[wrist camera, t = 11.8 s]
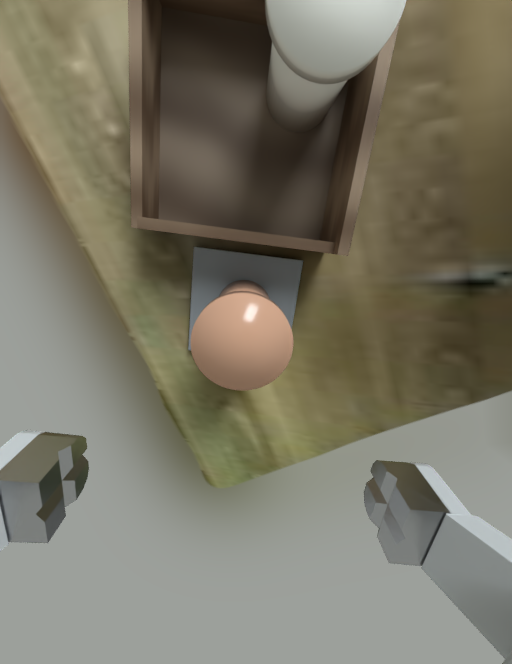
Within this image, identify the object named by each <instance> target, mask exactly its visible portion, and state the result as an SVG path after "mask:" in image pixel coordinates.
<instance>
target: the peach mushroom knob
mask: <svg viewBox="0 0 512 664" xmlns="http://www.w3.org/2000/svg"><path fill="white" fill-rule="evenodd" d="M292 351H293V334H292V330H291V327H290V325H289V323H288V320H287V318H286V316H285V314H284V313H283V311H282V310H281V309H280V308H279V306H278V305H277V304H275V303H274V302H273V301H272V300H270V298H269V296H268V293H267V292H266V290H265V289H264V288H263V287H262V286H260V285H259V284H257V283H255V282H253V281H249V280H238V281H235V282H232V283H230V284H229V285H227V286H226V287H225V288H224V289H223V290H222V291H221V293H220V295H219V297H217V298H215V299H214V300H212V301H211V302H210V303H209V304H208V305H207V306H206V307H205V308H204V309H203V310H202V312H201V313H200V315H199V317H198V318H197V320H196V322H195V324H194V326H193V329H192V333H191V352H192V355H193V358H194V361H195V363H196V365H197V366H198V368H199V369H200V371H201V372H202V373H203V374H204V375H205V376H206V377H207V378H208V379H210V380H211V381H212V382H214V383H216V384H217V385H219V386H222V387H224V388H228V389H232V390H252V389H257V388H260V387H262V386H265V385H267V384H269V383H270V382H272V381H273V380H275V379H276V378H277V377H278V376H279V375H280V374H281V373H282V372H283V371H284V369H285V368H286V367H287V365H288V363H289V361H290V358H291V355H292Z"/></svg>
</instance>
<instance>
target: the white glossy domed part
mask: <svg viewBox="0 0 512 664" xmlns="http://www.w3.org/2000/svg"><path fill="white" fill-rule="evenodd" d="M405 3H406V0H265V13H266V20H267V26H268V30H269V34H270V37H271V39H272V47H271V55H270V64H269V72H268V80H267V89H266V99H267V104H268V108H269V111H270V113H271V115H272V117H273V118H274V120H275V121H276V122H277V123H278V124H279V125H280V126H281V127H282V128H284V129H286V130H288V131H291V132H305V131H308V130H311V129H312V128H314V127H315V126H317V125H318V124H319V123H320V122H321V121H322V120H323V118H324V117H325V116H326V114H327V112H328V111H329V109H330V107H331V106H332V104H333V103H334V101H335V99H336V98H337V96H338V95H339V93H340V91H341V90H342V88H343V87H344V85H345V83H346V82H347V80H348V79H350V78H352V77H354V76H356V75H357V74H359V73H360V72H361V71H363V70H364V69H365V68H366V67H367V66H368V65H369V64H370V63H371V62H372V61H373V60H374V58H375V57H376V56H377V55H378V53H379V52H380V50H381V49H382V48H383V46H384V45H385V43H386V42H387V40H388V39H389V37H390V36H391V34H392V33H393V31H394V30H395V28H396V26H397V24H398V22H399V20H400V18H401V15H402V12H403V10H404V7H405Z"/></svg>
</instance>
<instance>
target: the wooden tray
mask: <svg viewBox="0 0 512 664" xmlns="http://www.w3.org/2000/svg"><path fill="white" fill-rule="evenodd" d="M128 21H129V95H130V168H131V227H132V228H139V229H147V230H154V231H162V232H170V233H177V234H185V235H193V236H200V237H208V238H216V239H224V240H231V241H239V242H247V243H254V244H262V245H270V246H277V247H285V248H293V249H301V250H308V251H316V252H324V253H331V254H338V255H346V256H348V255H349V250H350V246H351V241H352V236H353V232H354V227H355V223H356V218H357V214H358V209H359V205H360V200H361V195H362V191H363V186H364V182H365V177H366V173H367V168H368V163H369V159H370V154H371V150H372V145H373V141H374V136H375V131H376V127H377V122H378V118H379V113H380V109H381V104H382V99H383V95H384V90H385V86H386V81H387V77H388V72H389V68H390V63H391V58H392V54H393V49H394V45H395V40H396V36H397V31H398V26H399V22H400V20H399V22H398V24H397V26H396V28H395V30H394V31H393V33H392V34H391V36H390V37H389V39H388V40H387V42H386V43H385V45H384V46H383V48H382V49H381V50H380V52H379V53H378V55H377V56H376V57H375V58H374V60H373V61H372V62H371V63H370V64H369V65H368V66H367V67H366V68H365V69H364V70H363V71H361V72H360V73H359V74H357V75H356V76H354V77H352V78H350V79H348V80H347V82H346V83H345V85H344V87H343V88H342V90H341V91H340V93H339V95H338V96H337V98H336V99H335V101H334V103H333V104H332V106H331V107H330V109H329V111H328V112H327V114H326V116H325V117H324V118H323V120H322V121H321V122H320V123H319V124H318V125H317V126H315V127H314V128H312V129H311V130H308V131H305V132H291V131H288V130H286V129H284V128H282V127H281V126H280V125H279V124H278V123H277V122H276V121H275V120H274V118H273V117H272V115H271V113H270V111H269V108H268V104H267V99H266V89H267V80H268V72H269V64H270V55H271V47H272V39H271V37H270V34H269V30H268V26H267V20H266V13H265V0H128Z"/></svg>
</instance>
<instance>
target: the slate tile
mask: <svg viewBox="0 0 512 664" xmlns="http://www.w3.org/2000/svg"><path fill="white" fill-rule="evenodd" d="M302 265H303V261H302V260H296V259H288V258H280V257H273V256H265V255H257V254H249V253H241V252H233V251H225V250H218V249H210V248H202V247H194V253H193V272H192V291H191V310H190V329H189V348H188V350H191V333H192V329H193V326H194V324H195V322H196V320H197V318H198V317H199V315H200V313H201V312H202V310H203V309H204V308H205V307H206V306H207V305H208V304H209V303H210V302H211V301H212V300H214V299H215V298H217V297H219V295H220V293H221V291H222V290H223V289H224V288H225V287H226V286H227V285H229V284H230V283H232V282H235V281H238V280H249V281H253V282H255V283H257V284H259V285H260V286H262V287H263V288H264V289H265V290H266V292H267V293H268V296H269V298H270V300H272V301H273V302H274V303H275V304H277V305H278V306H279V308H280V309H281V310H282V311H283V313H284V314H285V316H286V318H287V320H288V323H289V325H290V327H291V329H292V323H293V318H294V312H295V306H296V300H297V294H298V288H299V283H300V277H301V271H302Z"/></svg>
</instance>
